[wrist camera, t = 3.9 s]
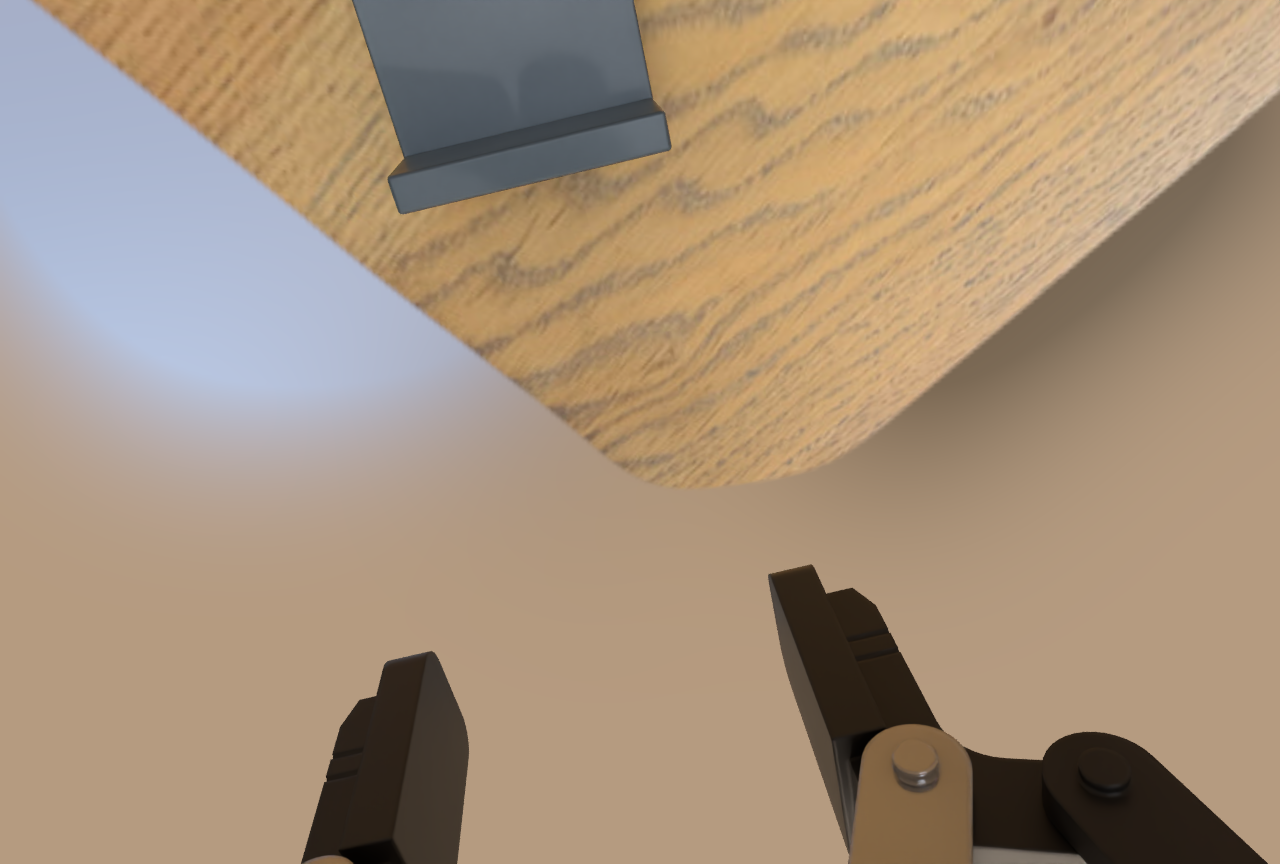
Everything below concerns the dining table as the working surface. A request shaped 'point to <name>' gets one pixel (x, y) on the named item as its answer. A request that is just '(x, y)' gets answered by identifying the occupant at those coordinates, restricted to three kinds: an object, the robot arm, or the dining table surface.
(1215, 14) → the dining table surface
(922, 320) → the dining table surface
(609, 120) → the chair
